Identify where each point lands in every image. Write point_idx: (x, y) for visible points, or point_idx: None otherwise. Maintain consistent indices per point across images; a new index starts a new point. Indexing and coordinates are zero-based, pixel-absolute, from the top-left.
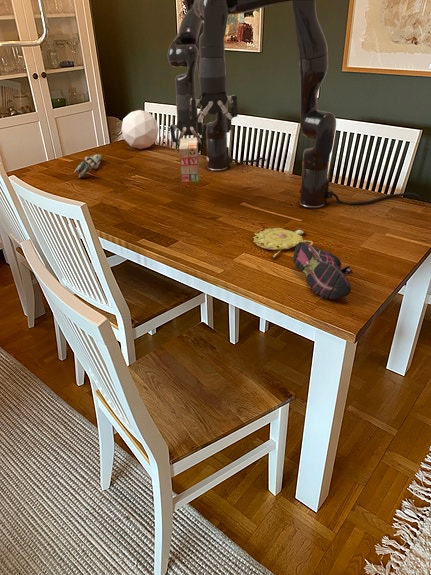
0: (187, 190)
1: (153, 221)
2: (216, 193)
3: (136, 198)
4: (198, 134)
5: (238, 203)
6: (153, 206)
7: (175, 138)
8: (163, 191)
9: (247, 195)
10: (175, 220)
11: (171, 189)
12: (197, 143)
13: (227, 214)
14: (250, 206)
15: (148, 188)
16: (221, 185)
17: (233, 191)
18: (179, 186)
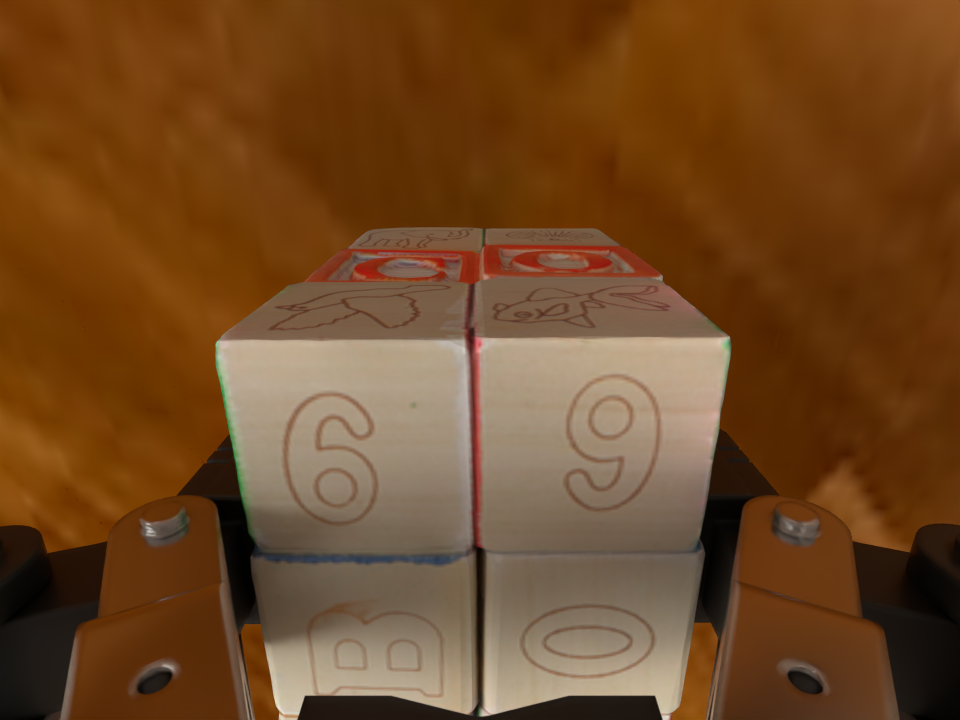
0: (428, 165)
1: (253, 682)
2: (679, 270)
3: (11, 315)
4: (870, 629)
5: (802, 482)
6: None
7: (19, 655)
8: (205, 167)
9: (915, 340)
10: None
11: (272, 119)
12: (683, 681)
13: (692, 631)
14: (866, 535)
15: (33, 60)
16: (760, 55)
17: (831, 237)
18: (341, 34)
